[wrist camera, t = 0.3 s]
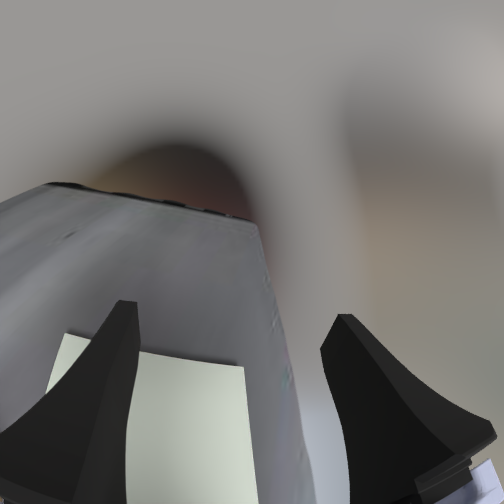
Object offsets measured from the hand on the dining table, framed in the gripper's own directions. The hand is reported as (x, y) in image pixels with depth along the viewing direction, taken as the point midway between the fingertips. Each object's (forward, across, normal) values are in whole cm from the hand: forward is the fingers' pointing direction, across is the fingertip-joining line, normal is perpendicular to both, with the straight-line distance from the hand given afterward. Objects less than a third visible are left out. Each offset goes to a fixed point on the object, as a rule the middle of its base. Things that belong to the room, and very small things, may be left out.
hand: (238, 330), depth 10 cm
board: (+2, +5, +20) cm, 21 cm away
